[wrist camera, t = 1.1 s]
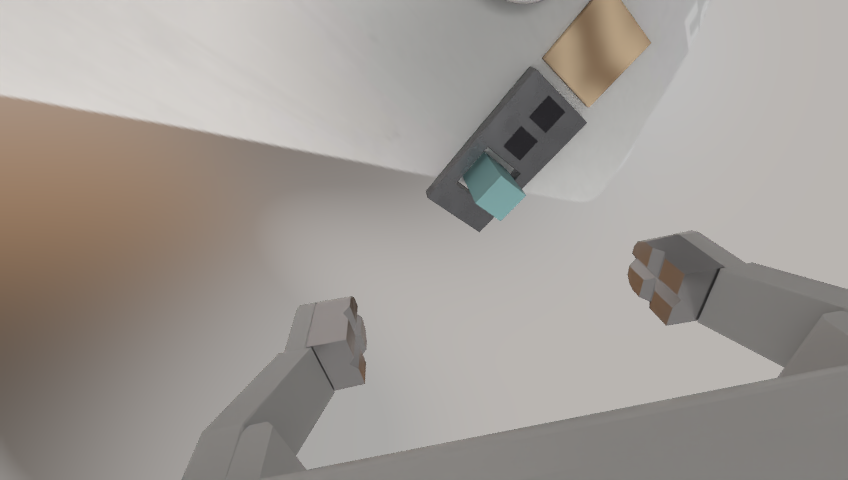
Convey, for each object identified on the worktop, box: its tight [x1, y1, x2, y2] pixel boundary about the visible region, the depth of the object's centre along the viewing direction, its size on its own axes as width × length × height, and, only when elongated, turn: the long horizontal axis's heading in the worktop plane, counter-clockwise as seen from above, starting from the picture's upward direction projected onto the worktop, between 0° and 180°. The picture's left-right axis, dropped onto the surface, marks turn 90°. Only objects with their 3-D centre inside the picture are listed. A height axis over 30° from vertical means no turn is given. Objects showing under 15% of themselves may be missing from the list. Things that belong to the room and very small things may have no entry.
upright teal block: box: [463, 152, 526, 221], centre depth 44 cm, size 4×4×8 cm
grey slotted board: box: [426, 67, 587, 232], centre depth 45 cm, size 20×10×2 cm, turn 142°
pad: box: [542, 0, 651, 107], centre depth 40 cm, size 9×9×1 cm
